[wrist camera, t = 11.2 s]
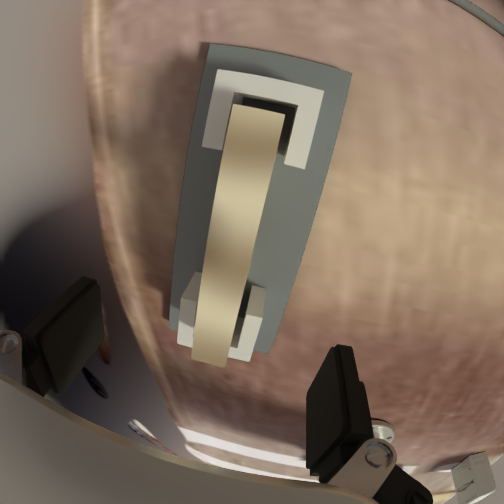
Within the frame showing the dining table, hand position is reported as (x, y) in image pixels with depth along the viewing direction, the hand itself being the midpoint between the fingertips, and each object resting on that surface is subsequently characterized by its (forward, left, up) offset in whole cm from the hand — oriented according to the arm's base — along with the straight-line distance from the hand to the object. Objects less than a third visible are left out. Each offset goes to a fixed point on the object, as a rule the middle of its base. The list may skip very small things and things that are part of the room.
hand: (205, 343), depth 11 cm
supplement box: (-44, -64, -14) cm, 78 cm away
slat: (0, 0, -13) cm, 13 cm away
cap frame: (0, 0, -14) cm, 14 cm away
